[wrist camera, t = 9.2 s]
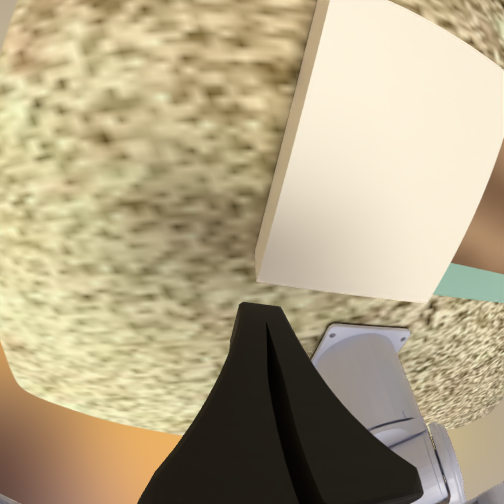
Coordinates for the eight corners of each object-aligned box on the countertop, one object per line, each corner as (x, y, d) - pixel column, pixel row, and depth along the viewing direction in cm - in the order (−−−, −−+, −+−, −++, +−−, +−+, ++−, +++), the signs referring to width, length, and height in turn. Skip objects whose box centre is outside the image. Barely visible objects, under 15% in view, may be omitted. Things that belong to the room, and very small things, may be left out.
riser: (410, 277, 22) (426, 303, 19) (254, 252, 20) (256, 282, 18) (488, 75, 14) (518, 82, 11) (319, -7, 12) (334, -21, 9)
